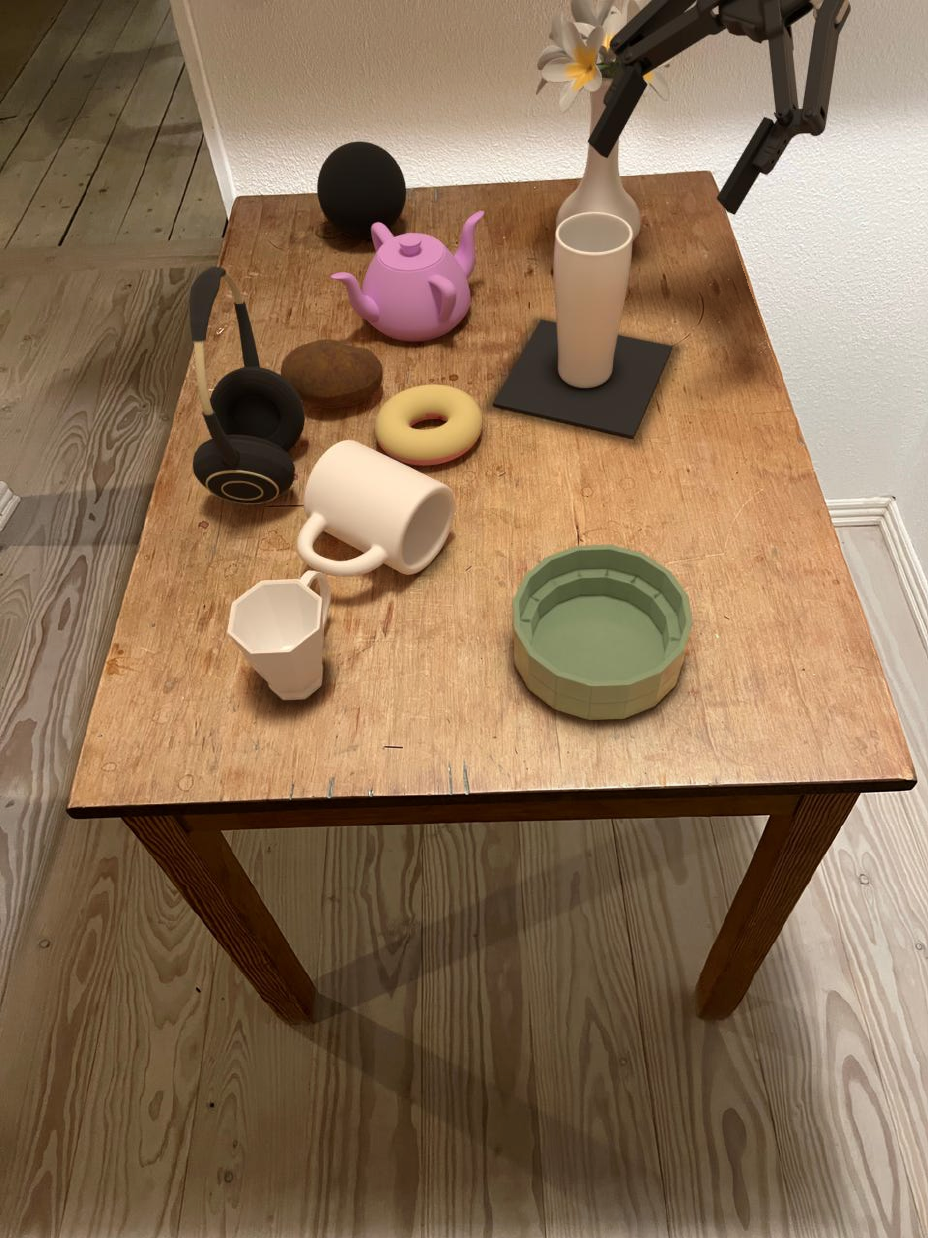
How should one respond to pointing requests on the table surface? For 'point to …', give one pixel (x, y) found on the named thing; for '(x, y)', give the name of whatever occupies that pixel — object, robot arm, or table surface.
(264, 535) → the table surface
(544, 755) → the table surface
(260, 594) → the cup
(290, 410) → the headphones
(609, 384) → the mat
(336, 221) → the decorative ball
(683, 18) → the robot arm
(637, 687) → the bowl
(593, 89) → the flower vase
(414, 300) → the teapot
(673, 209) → the table surface
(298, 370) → the potato
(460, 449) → the donut
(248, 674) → the table surface
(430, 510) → the mug
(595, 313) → the drinking glass
